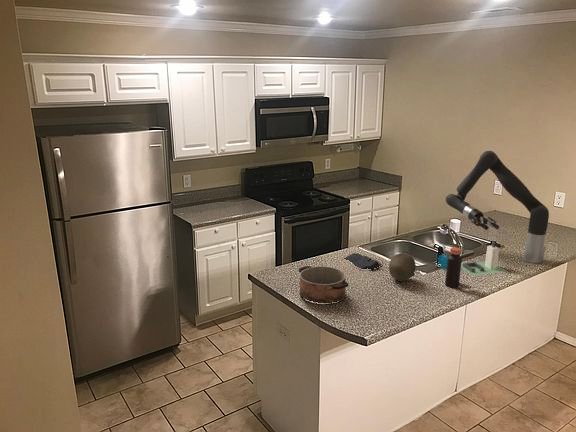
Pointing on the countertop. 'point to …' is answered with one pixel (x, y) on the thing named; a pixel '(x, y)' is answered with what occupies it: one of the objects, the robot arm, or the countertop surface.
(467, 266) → the header
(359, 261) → the dark blue flat piece
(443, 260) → the gear
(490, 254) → the plug
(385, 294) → the countertop surface
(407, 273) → the cantaloupe
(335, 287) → the cooking pot
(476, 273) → the board
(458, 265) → the bottle
